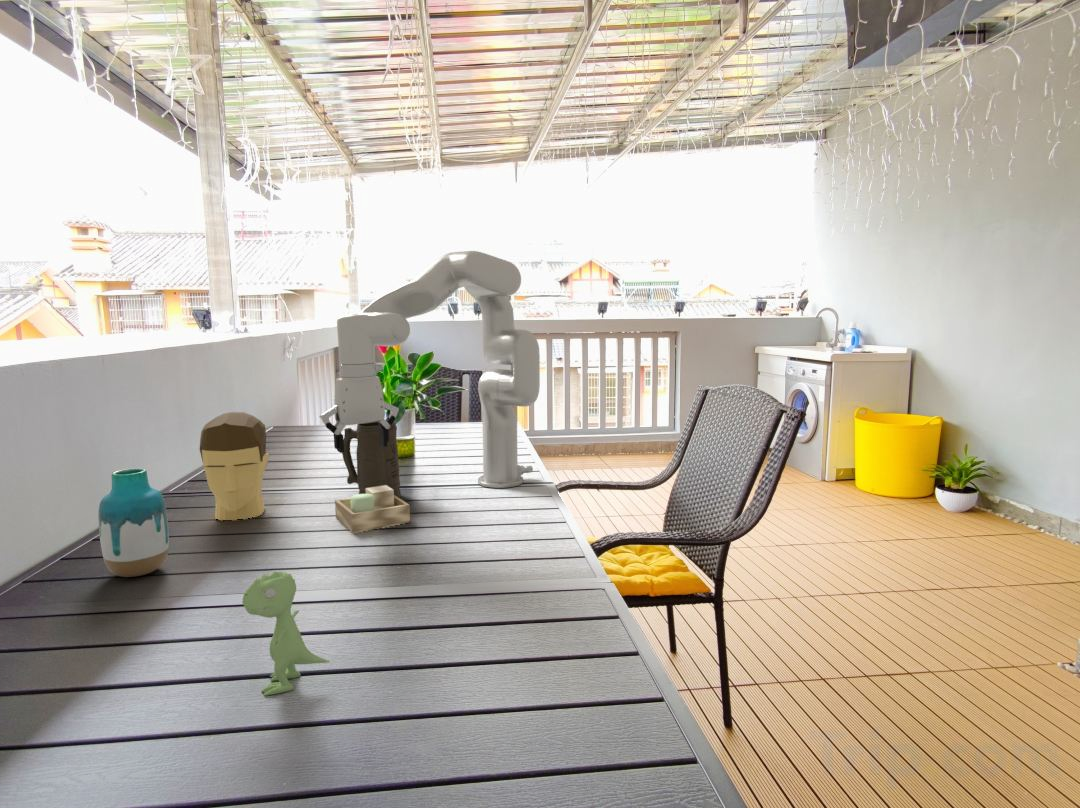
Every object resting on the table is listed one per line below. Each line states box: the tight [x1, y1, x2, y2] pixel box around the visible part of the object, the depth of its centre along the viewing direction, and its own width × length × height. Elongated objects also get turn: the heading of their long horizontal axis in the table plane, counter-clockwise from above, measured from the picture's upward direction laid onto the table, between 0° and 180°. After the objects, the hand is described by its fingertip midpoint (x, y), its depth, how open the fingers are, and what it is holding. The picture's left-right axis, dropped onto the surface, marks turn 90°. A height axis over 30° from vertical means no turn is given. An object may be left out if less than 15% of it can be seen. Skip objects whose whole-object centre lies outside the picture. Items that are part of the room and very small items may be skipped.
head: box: [199, 411, 270, 521], centre depth 152 cm, size 14×21×25 cm, turn 17°
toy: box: [242, 571, 331, 697], centre depth 84 cm, size 7×8×15 cm
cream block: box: [365, 485, 394, 510], centre depth 153 cm, size 5×5×6 cm
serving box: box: [334, 495, 411, 535], centre depth 150 cm, size 13×13×4 cm
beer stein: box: [341, 421, 402, 498], centre depth 168 cm, size 15×11×20 cm
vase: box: [98, 468, 170, 578], centre depth 119 cm, size 11×11×19 cm
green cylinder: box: [349, 493, 374, 513], centre depth 147 cm, size 5×5×6 cm
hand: (362, 448), depth 145 cm, fingers open, 9 cm apart
